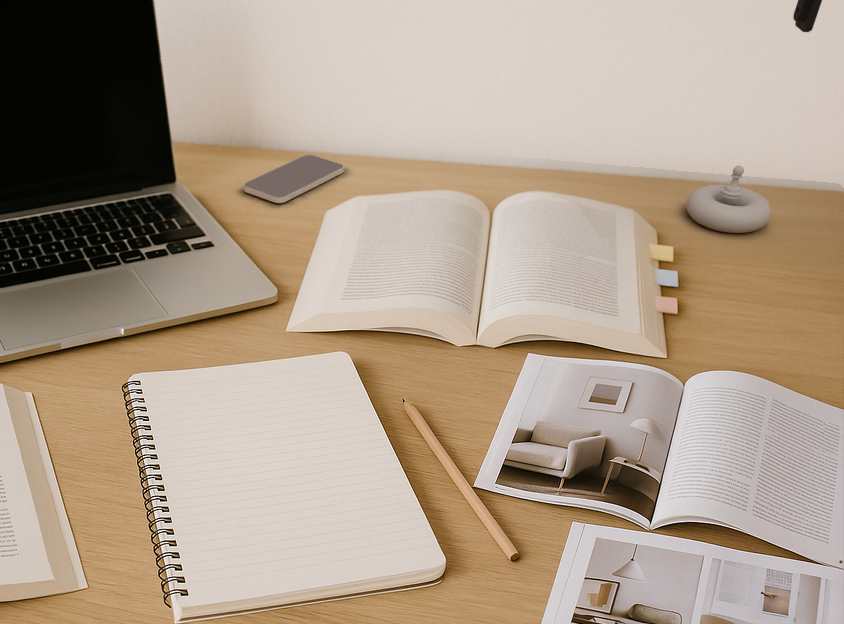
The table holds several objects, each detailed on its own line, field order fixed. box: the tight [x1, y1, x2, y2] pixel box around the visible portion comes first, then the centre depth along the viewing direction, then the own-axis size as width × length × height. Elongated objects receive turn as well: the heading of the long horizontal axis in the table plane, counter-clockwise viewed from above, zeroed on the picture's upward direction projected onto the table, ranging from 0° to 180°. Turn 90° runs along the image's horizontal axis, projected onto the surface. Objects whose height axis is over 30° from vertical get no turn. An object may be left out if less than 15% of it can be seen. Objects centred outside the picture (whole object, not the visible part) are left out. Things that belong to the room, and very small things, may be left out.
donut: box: [686, 183, 772, 234], centre depth 108 cm, size 10×4×10 cm
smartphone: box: [242, 154, 345, 204], centre depth 119 cm, size 7×1×15 cm
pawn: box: [720, 165, 745, 199], centre depth 106 cm, size 3×3×4 cm
